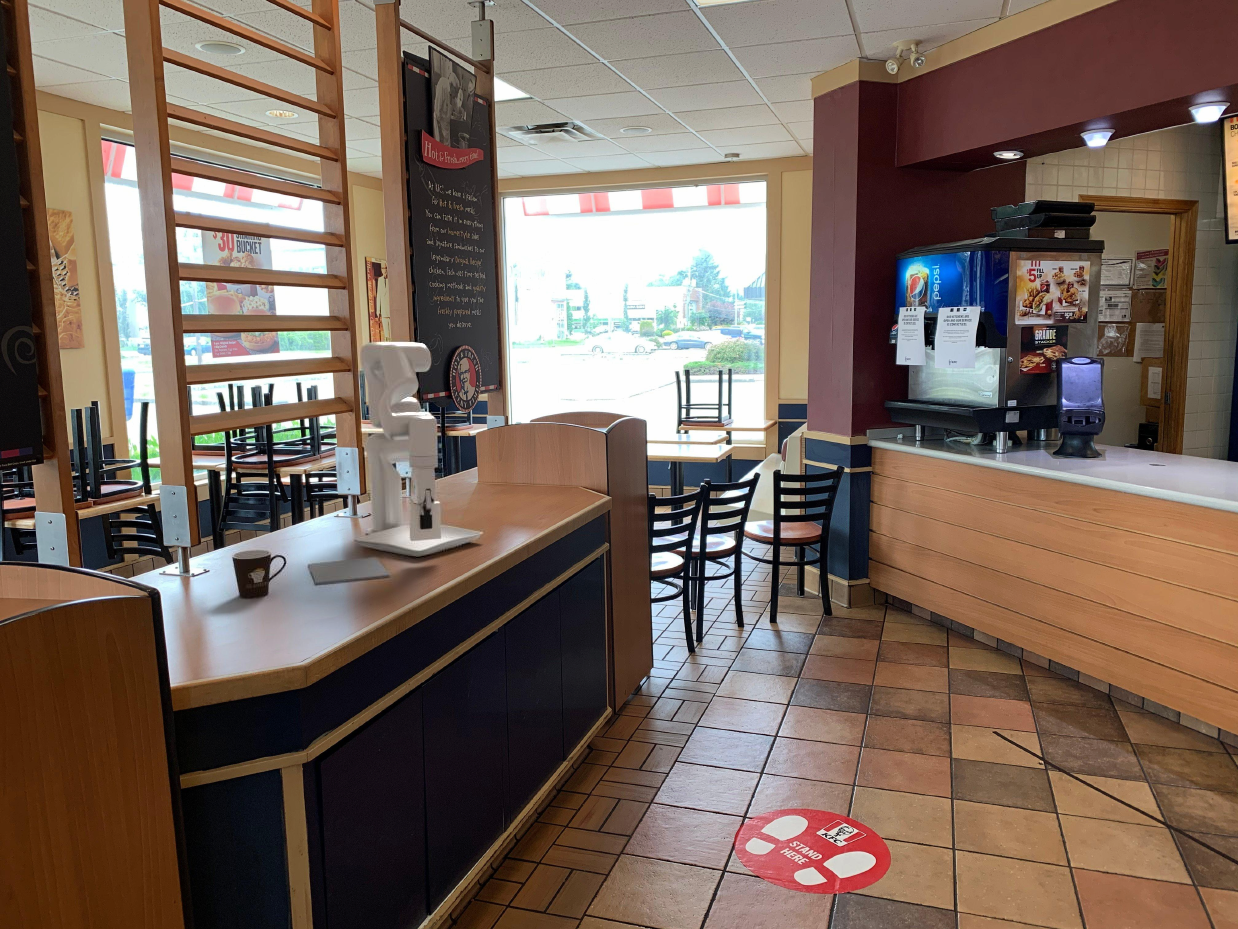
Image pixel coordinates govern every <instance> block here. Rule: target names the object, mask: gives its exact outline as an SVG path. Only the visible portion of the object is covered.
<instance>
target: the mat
mask: <svg viewBox="0 0 1238 929" xmlns="http://www.w3.org/2000/svg"><path fill="white" fill-rule="evenodd" d="M307 566H308V569H309V572H310V574H311V575H312V578H313V580H314V582H315V585H316V586H317V585H318V586H320V585H328V584H335V583H336V584H337V583H345V582H346V583H347V582H355V581H364V580H372V579H382V578H390V573H389V572H388V571H387V569H386V568H385V566H384V565H383V564H382V562H380V560H379V558H377V556H373V557H372V556H371V557H366V558H364V557H363V558H355V559H345V560H332V561H324V562H315V563H314V562H313V563H307Z"/></svg>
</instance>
